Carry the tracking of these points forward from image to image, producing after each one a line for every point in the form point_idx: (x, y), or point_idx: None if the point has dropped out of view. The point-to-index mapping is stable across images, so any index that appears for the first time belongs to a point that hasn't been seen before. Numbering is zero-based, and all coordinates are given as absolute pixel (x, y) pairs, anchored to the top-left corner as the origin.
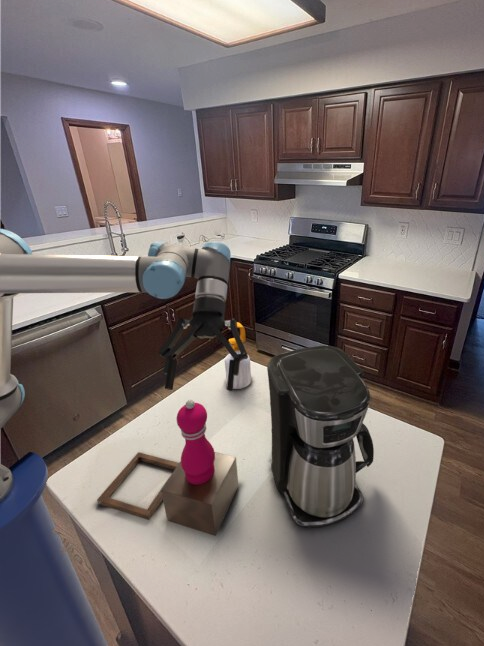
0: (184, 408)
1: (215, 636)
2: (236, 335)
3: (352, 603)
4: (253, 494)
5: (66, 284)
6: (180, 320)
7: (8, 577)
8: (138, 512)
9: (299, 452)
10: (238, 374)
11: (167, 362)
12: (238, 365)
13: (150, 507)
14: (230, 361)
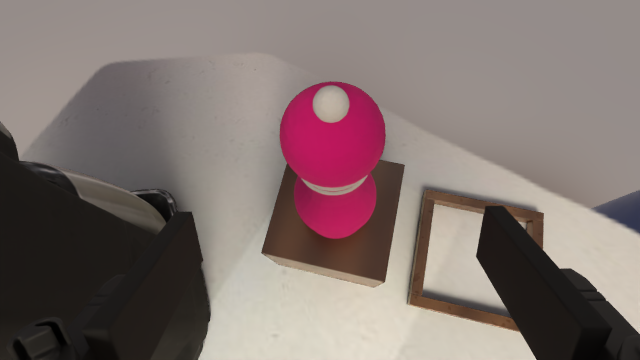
0: (354, 108)
1: (278, 78)
2: None
3: (117, 113)
4: (247, 248)
5: None
6: None
7: (609, 210)
8: (447, 194)
9: (70, 190)
10: None
11: (608, 323)
12: (76, 321)
13: (430, 204)
14: (107, 317)
